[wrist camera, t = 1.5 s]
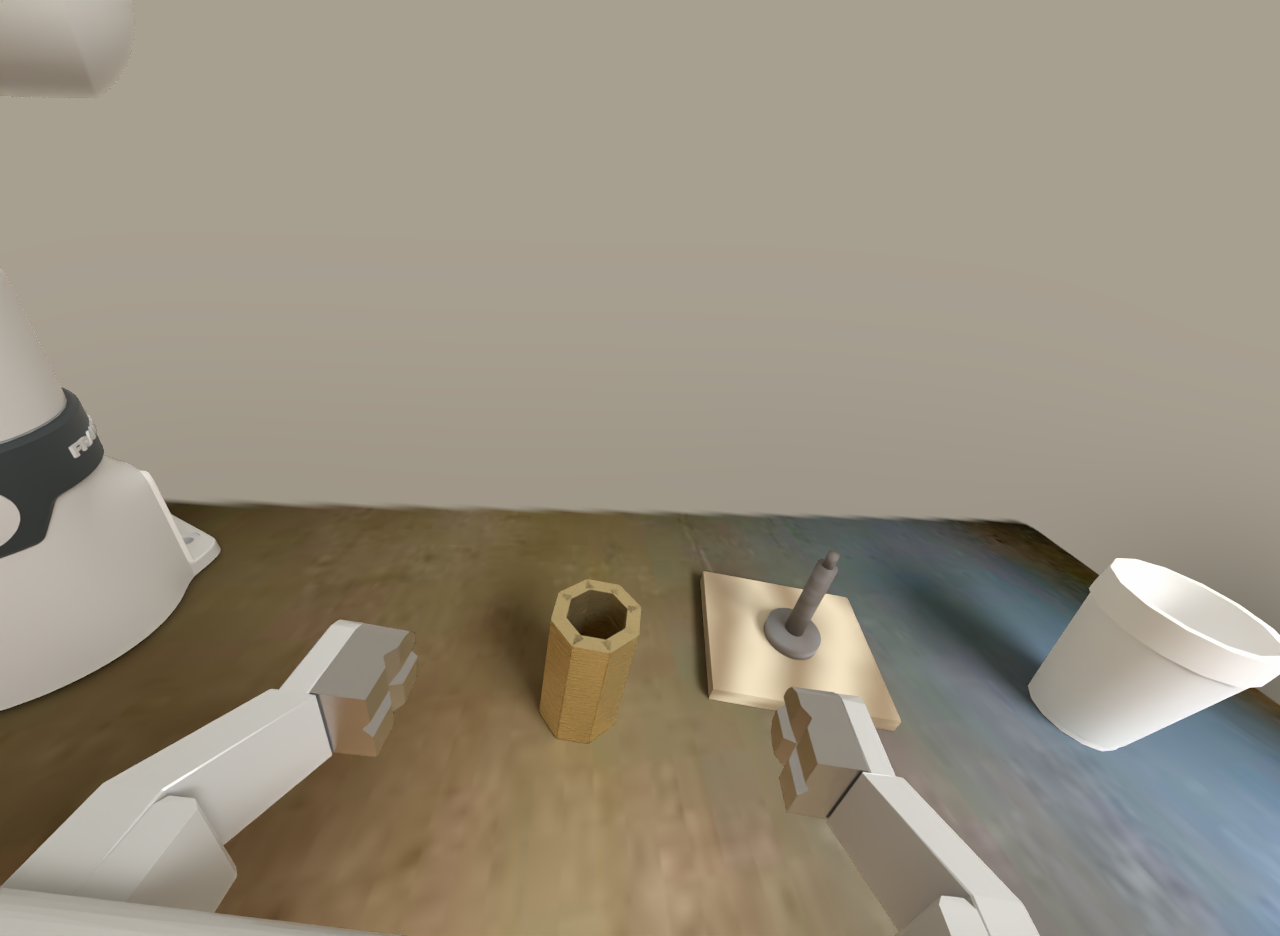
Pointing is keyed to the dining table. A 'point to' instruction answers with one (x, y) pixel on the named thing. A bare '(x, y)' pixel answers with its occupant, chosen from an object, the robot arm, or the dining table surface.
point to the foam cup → (1149, 656)
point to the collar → (588, 659)
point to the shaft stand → (788, 643)
